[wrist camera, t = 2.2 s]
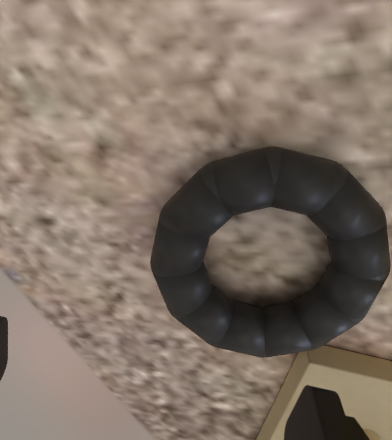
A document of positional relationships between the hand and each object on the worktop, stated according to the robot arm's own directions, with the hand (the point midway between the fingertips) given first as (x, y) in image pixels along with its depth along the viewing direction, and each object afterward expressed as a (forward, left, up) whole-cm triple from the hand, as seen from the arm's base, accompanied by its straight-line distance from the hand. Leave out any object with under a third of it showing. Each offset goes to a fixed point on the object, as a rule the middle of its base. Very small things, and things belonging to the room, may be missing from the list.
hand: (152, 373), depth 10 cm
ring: (0, +4, -6) cm, 7 cm away
